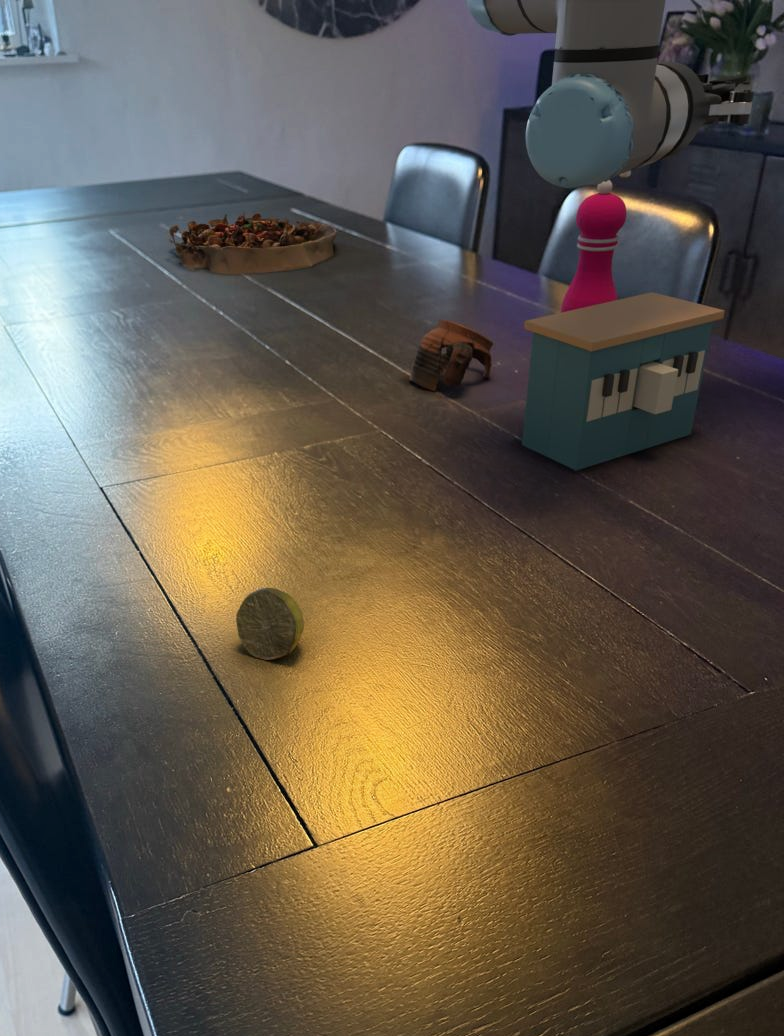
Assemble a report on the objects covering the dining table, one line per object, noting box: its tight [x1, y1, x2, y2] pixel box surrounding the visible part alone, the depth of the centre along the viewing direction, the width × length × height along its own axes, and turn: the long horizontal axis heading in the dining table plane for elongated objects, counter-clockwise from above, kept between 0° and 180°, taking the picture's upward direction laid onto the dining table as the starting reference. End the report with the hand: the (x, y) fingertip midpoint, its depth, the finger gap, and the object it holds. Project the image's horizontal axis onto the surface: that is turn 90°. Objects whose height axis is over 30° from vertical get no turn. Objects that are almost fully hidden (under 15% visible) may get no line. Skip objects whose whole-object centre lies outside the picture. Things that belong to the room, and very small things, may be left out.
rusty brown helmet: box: [409, 319, 494, 392], centre depth 112 cm, size 12×9×8 cm
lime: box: [235, 587, 305, 661], centre depth 66 cm, size 4×5×5 cm
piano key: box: [633, 361, 678, 414], centre depth 90 cm, size 4×2×4 cm, turn 30°
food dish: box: [165, 212, 338, 275], centre depth 179 cm, size 35×33×8 cm
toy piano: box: [521, 291, 725, 471], centre depth 94 cm, size 9×17×13 cm, turn 120°
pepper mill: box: [560, 179, 627, 313], centre depth 119 cm, size 7×7×20 cm
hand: (736, 91), depth 93 cm, fingers closed
